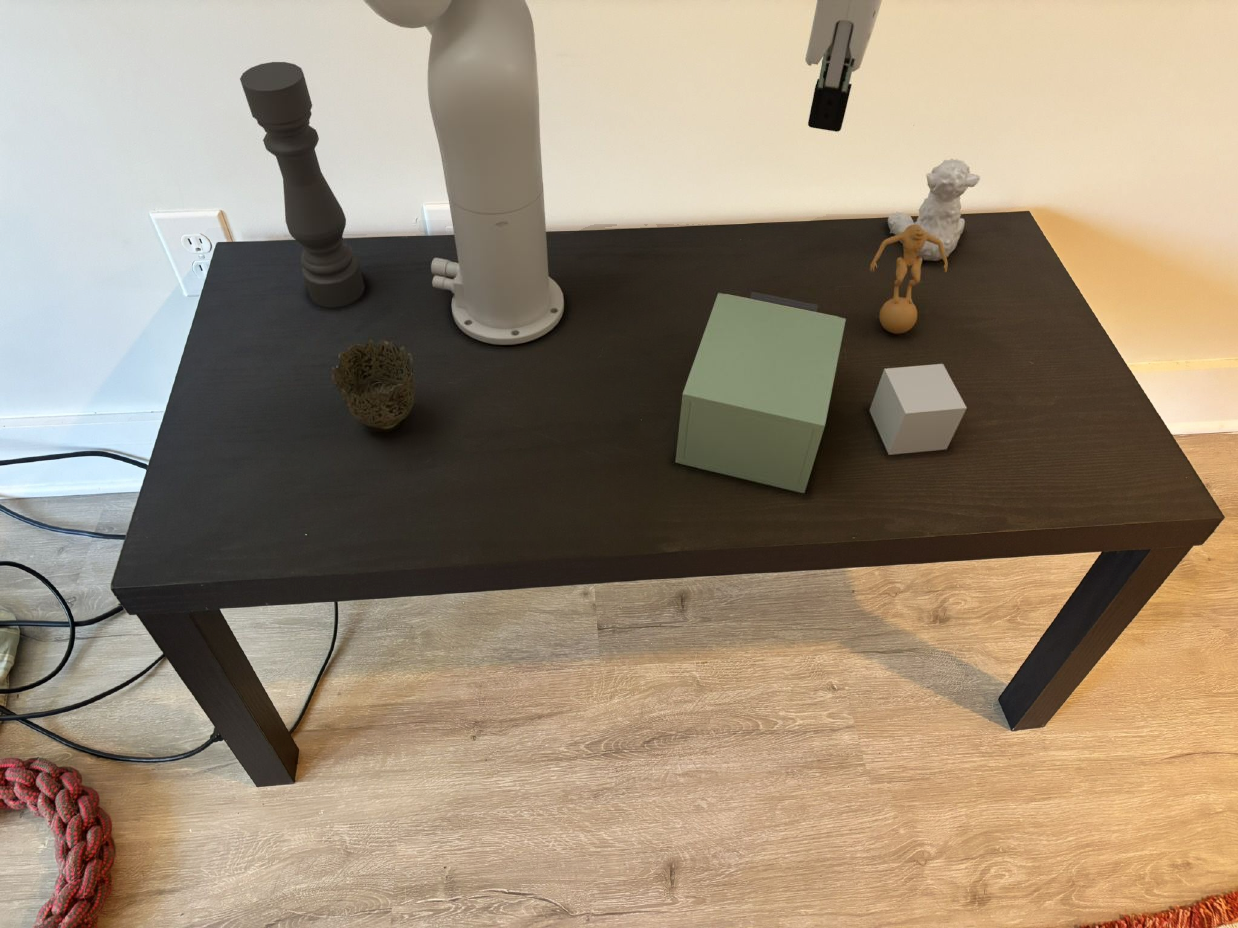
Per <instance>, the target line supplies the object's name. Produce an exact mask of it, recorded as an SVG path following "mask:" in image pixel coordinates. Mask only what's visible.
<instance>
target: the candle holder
mask: <svg viewBox="0 0 1238 928" xmlns="http://www.w3.org/2000/svg"><path fill="white" fill-rule="evenodd" d="M239 80H240V83H241V86H242V90H243V92H244V96H245V99H246V102H247V104H248V108H249V110H250V113H251V116H252V118H253V119H255V120H256V122H257V125H258V126H259V127H261V128H262V129H263V130H264V132H265V135H264V137H263V139H262V142H263V145H264V146H265V150H266V151H267V152H269V153H270V154H272V155H273V156H275V159H276V161H277V165H278V167H279V170H280V173H281V176H282V181H283V182H282V185H283V186H282V187H283V200H284V201H283V202H284V216H285V217H284V219H285V220H284V221H285V224H286V227H287V230H288V233H289V235H290V236H291V238H292V239H294V240H295V241H296V242H298V243H299V244H300V245H301V248H302V249H303V250H302V252H301V256H300V258H299V259H300V262H301V265H302V269H301V273H302V275H303V278H304V282H305V284H306V287H307V290H308V293H309V297H310V299H311V301H312V302H313V303H315V304H316V305H317V306H320V307H324V308H342V307H345V306H349V305H350V304H353V303H355V302H356V301H358V300H359V298H360V297H361V296H362V295H363V294H364V290H365V288H366V287H365V282H364V279H363V276H362V271H361V269H360V264H359V262H358V260H357V257H356V256H354V252H353V249H352V247H351V246H350V245H349V244H347V242H345V241H344V236H343V235H344V232H345V228H346V226H347V218H346V214H345V212H344V210H343V208H342V206H341V204H340V202H339V200H338V198H337V197H336V196H335V193H334V192H333V190H332V189H331V186H330V185H329V183H328V181H327V180H326V177H325V176H324V174H323V173H322V170H321V166H320V163H319V159H318V156H317V153H316V147H317V145H318V143H319V140H320V137H319V134H318V131H317V129H315V128H314V127H312V126H310V123H311V122H310V119H311V117H312V115H313V114H312V111H311V110H312V108H313V102H312V99H311V96H310V91H309V88H308V84H307V81H306V78H305V73H304V71H303V69H302V67H300V66H298V65H296V64H295V63H291V62H287V61H271V62H264V63H260V64H257V65H255V66H252V67H249V68H248V69H247V70H245V71H244V72H243V73H242V74H241V76H240V77H239Z"/></svg>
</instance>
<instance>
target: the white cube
mask: <svg viewBox="0 0 1238 928" xmlns="http://www.w3.org/2000/svg"><path fill="white" fill-rule="evenodd" d="M882 371H883V372H882V374H881V376H880V379H879V383H878V385H877V388H876V391H875V394H874V397H873V399H872V402H871V405H870V408H869V414H870V415H871V418H872V420H873V423H874V425H875V428H876V429H877V432H878V434H879V436H880V439H881V441H882V443H883V445H884V447H885V450H886V452H887V454H888V456H890V455H900V454H902V455H903V454H912V453H913V454H914V453H922V452H932V451H943V450H947V449H948V447H949V445H950V443H951V441H952V439H953V437H954V435H955V433H956V431H957V429H958V427H959V424H960V423H961V421H962V419H963V417H964V415H965V413H966V411H967V406H966V404H965V402H964V400H963V398H962V396H961V395H960V393H959V391H958V389H957V387H956V386H955V384H954V382H953V380H952V378H951V376H950V374H949V373H948V371H947V368H946V367H945V365H944V363H937V364H936V363H935V364H924V365H911V366H901V367H887V368H884V369H883V370H882Z"/></svg>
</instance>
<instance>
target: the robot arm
mask: <svg viewBox="0 0 1238 928" xmlns="http://www.w3.org/2000/svg"><path fill="white" fill-rule="evenodd" d="M882 1H883V0H816V6H815V11H814V14H813V20H812V25H811V31H810V35H809V39H808V45H807V50H806V54H805V63H806V65H808V66H810V67H811V66H812V65H819V63H820V62H821V67H820V72H819V75H818V76H819V77H818V78H817V80H816V83H815V86H814V91H813V96H812V101H811V105H810V111H809V115H808V122H807V125H808V127H809V128H812V129H816V130H817V129H818V130H823V131H829V132H836V133H839V132H840V131H841V130H842V127H843V124H844V119H845V115H846V110H847V108H848V107H847V106H848V102H849V97H850V93H851V90H852V85H853V83H850V82H851V79H852V73H854V72H856V71H858V70H859V69H860V67H861V65H862V62H863V59H864V57H865V54H866V51H867V48H868V46H869V43H870V41H871V37H872V34H873V30H874V27H875V24H876V21H877V19H878V18H877V17H878V15H879V12H880V9H881V4H882ZM363 2H364V3H365V4H366V5H367V6H368V7H369V8H370V9H371V10H372V11H373V12H374V13H375V14H376V15H378V16H379V17H381V19H383V20H385V21H386V22H387V23H390V24H392V25H395V26H398V27H400V28H405V29H421V28H424V27H425V29H427V31H428V32H429V34H430V35H431V39H430V44H429V52H428V53H429V54H428V61H427V96H428V97H427V98H428V104H429V110H430V114H431V119H432V123H433V126H434V132H435V135H436V140H437V144H438V148H439V152H440V158H441V165H442V169H443V176H444V177H443V178H444V184H445V188H446V194H447V199H448V204H449V205H448V206H449V212H450V217H451V218H450V219H451V223H452V230H453V235H454V243H455V249H456V256H457V261H458V262H455V261H452V260H450V259H446V258H440V257H434V258H433V259H432V261H431V265H430V272H431V274H432V275H434V276H433V278H432V281H431V284H432V287H433V288H434V289H440V290H446V291H447V290H448V291H450V292H451V293H452V294H453V296H452V299H451V313H452V318H453V321H454V322H455V324H456V325H457V327H458V328H459V330H461V332H463V334H465V335H467V336H469V337H470V338H472V339H474V340H476V341H479V342H482V343H486V344H491V345H499V346H510V345H511V346H512V345H513V346H514V345H519V344H525V343H528V342H531V341H535V340H537V339H538V338H541V337H543V336H545V335H546V334H548V333H549V332H550V331H552V330H553V329H554V328H555V327H556V326H557V325H558V324H559V322H560V320H561V319H562V317H563V313H564V310H565V308H564V307H565V300H564V293H563V291H562V289H561V287H560V286H559V285H558V283H557V282H556V281H555V280H554V279H552V277H551V276H549V261H548V260H549V259H548V258H549V257H548V245H547V242H548V241H547V229H546V228H547V227H546V226H547V225H546V211H545V210H546V209H545V192H544V178H543V165H542V163H543V161H542V146H541V126H540V123H541V122H540V91H539V90H540V89H539V76H538V59H537V50H536V38H535V37H536V36H535V28H534V22H533V17H532V13H531V11H530V9H529V6H528V3H527V1H526V0H363ZM452 278H453V279H452Z"/></svg>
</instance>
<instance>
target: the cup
mask: <svg viewBox="0 0 1238 928" xmlns="http://www.w3.org/2000/svg"><path fill="white" fill-rule="evenodd" d="M337 358H338V362H339V364H338V365H336V368H335V367H331V368H330V372H331V373H330V374H331V375H332V376H331V380H332V382H333V384H334V385H335V387H336V389H337V391H338V393H339V395H340V397H341V399H342V401H343V403H344V405H345V406H346V408H347V409H348V411H349V412H350V414H351V415H352V416H353V417H354V418H355V419H356V420H357V421H358V422H359V423H362V424H363V425H365V426H368V427H370V428H371V429H372V430H373V431H374V432H376V433H379V434H383V435H388V434H393V433H396V432H398V431H399V430H401V428H402V427H403V426H404V424H405V422H406V419H407V418H406V417H408V415H409V414H410V413H411V411H412V409H413V406H414V404H415V397H416V396H415V395H416V389H415V388H416V387H415V386H416V385H415V374H414V363H413V356H412V353H408V352H407V350H406V347H405V346H402V347H401V348H399V346H397V344H396V343H395V342H394V341H392V340H391V341H390V342H388V341H386V339H381V340H380V342H379V343H378V344H377V345H376V344H375V343H374V341H373V340H372V339H369V340H368V341H367V342H366V344H365V345H362V344H361V343H360V344H359V343H352V344H351V345H350V346H349V347H348V348H347V351H346V352H344V351H340V352H339V353H338V355H337Z"/></svg>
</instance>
